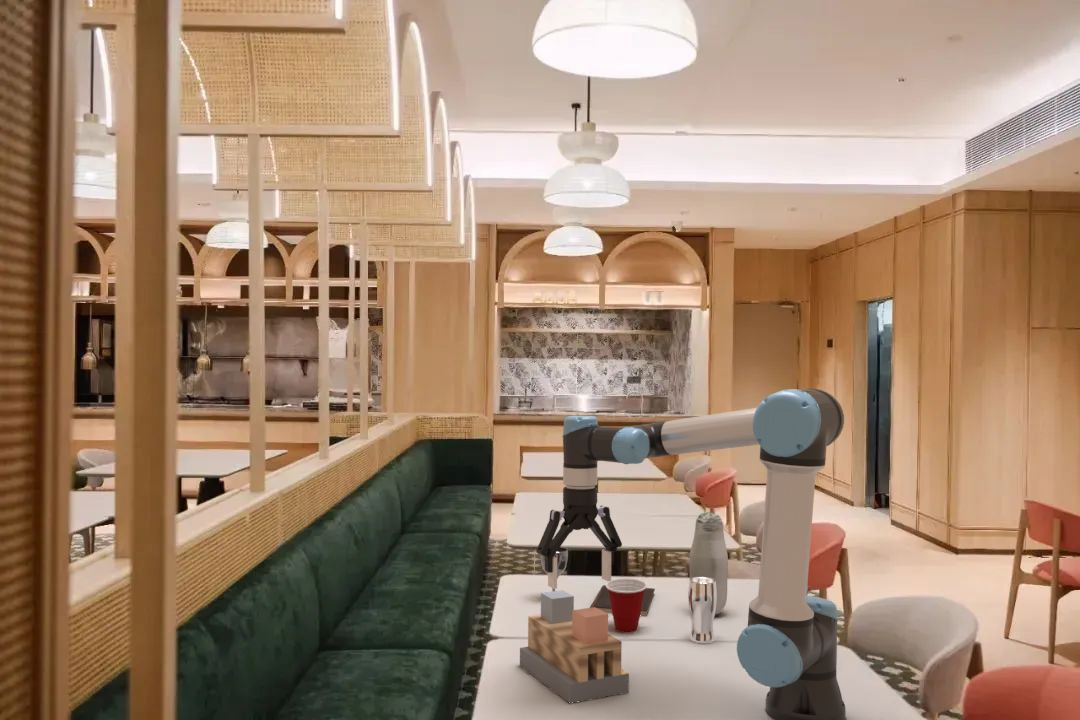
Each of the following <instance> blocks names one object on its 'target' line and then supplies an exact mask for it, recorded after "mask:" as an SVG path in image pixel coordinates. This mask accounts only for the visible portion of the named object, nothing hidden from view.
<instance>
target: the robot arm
mask: <svg viewBox="0 0 1080 720" xmlns="http://www.w3.org/2000/svg"><path fill="white" fill-rule="evenodd" d="M844 414H845V413H844V410H843V408H842V405H841V404H840V403H839V401H838V400H837V398H835V397H834V395H832V394H830V393H829V392H828V391H825V390H822V389H818V388H805V389H803V388H802V389H795V388H794V389H791V388H790V389H783V390H779V391H777V392H775V393H774V392H773V393H772V394H769V395H768V396H766V397H765V398H764V399H763V400H761V402H760V403H759V404H758V406H756V407H753V408H746V409H740V410H733V411H727V412H720V413H712V414H707V415H706V414H705V415H700V416H699V415H698V416H693V417H686V418H685V417H684V418H681V419H673V420H667V421H660V422H659V421H658V422H653V423H645V424H639V425H637V424H636V425H626V426H604V425H602V426H601V425H599V422H598V418H597V417H596V416H594V415H569V416H566V417H565V419H564V420H563V431H562V447H563V448H562V449H563V451H562V452H563V466H562V468H563V469H562V471H563V472H562V473H563V474H562V475H563V476H562V481H563V482H562V483H563V485H564V487H563V488H562V504H563V509H562V510H555V509H551V510H550V512H549V517H548V518H549V520H548V522H547V524H546V527H545V530H544V531H543V533H542V535H541V539H540V540H539V543H538V546H537V548H536V553H537V555H538V554H539V555H543V556H544V557H545V571H546V572H548V575H547V586H548V587H550V588H551V589H552V588H554V589H555V590H556V589H558V579H557V558H556V557H554V555H555V554H556V552H557V551H558V549H559V548H560V546H561V547H562V545H563V544H564V542H565V540H567V538H568V536H569V534H571V533H572V532H573V531H574V530H575V531H580V530H582V529H583V530H589V529H590V530H591V532H592V533H593V535H594V536H595V537H596V539H597V540H599V541H600V543H601V544H602V546H603V547H604V548H605V549H601V579H602V580H603V581H604V580H605V581H606V582H608V581H611V580H612V566H613V565H614V564H615V552H617V551H618V548H622V545H623V543H622V541H621V538H620V536H619V534H618V531H617V529H616V527H615V524H614V523H613V520H612V518H611V511H610V509H611V508H610V507H609V506H605V505H600V506H599V507H597V503H598V488H597V487H596V486H597V485H598V462H606V463H607V462H609V463H618V464H623V465H629V464H630V465H631V464H633V465H634V464H635V465H638V464H642V463H644V461H645V459H650V458H661V457H667V456H668V457H669V456H674V455H684V454H690V453H700V452H709V451H715V450H716V451H717V450H724V449H734V448H741V447H743V448H744V447H751V446H759V447H760V448H759V461H760V462H761V464H762V465H763V466H764V467H765V469H766V471H767V472H766V483H765V484H766V485H765V497H764V499H765V500H764V512H763V524H762V527H763V528H762V538H761V539H762V541H761V555H760V566H759V567H760V569H759V582H758V593H757V596H756V597H755V598H753V600H751V601H750V602H749V606H748V616H747V617H748V618H747V626H746V627H745V628H744V629H743V630H742V631H741V633H740V634H739V637H738V639H737V643H736V653H737V657H738V660H739V663H740V665H741V666H742V668H743V669H744V670H745V672H746V673H747V675H748V676H749V677H750V678H751V679H752V680H753V681H755V682H756V683H758V684H760V685H762V686H765V687H769V691H767V693H766V696H765V710H766V713H767V714H768V715H769V717H771V718H772V719H775V720H846V719H845V718H846V714H847V713H846V711H847V709H846V705H845V702H844V700H843V695H842V693H841V688H840V686H839V682H838V679H837V662H838V661H837V658H838V653H837V650H838V622H839V618H838V609H837V606H836V603H834V602H832V600H828V599H826V598H823V597H819V596H813V595H808V594H807V586H808V582H809V580H808V579H809V568H810V554H811V540H812V528H813V514H814V513H813V512H814V502H815V500H814V498H815V486H816V475H817V474H818V473H819V472H820V471H821V470H822V469H824V468H825V467H826V459H827V457H826V456H827V447H828V446H830V445H832V444H833V443H834V442H835V441H836V440H837V439H838V438H839V437H840V435H841V434H842V432H843V429H844V426H845V415H844ZM597 516H598V517H599V518H600V520H601V523H602V525H603V526H604V529H605V531H606V533H605V532H604V531H603V529H602V528H601V526H600V524H599V523H598V522H597V521H596V518H597ZM562 518H563V519H564V520H563V519H562ZM561 520H563V522H562V523H561V525H560V522H561ZM559 525H560V528H559V529H558V527H559ZM545 571H544V572H545ZM546 572H545V573H546Z"/></svg>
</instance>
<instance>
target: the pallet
mask: <svg viewBox="0 0 1080 720" xmlns="http://www.w3.org/2000/svg"><path fill="white" fill-rule="evenodd" d="M527 620H528V621H527V623H528V626H527V627H528V629H527V640H528V641H527V645H528V646H527V647H529V648H531V649H532V650H534V651H535V652H536V653H538V654H539V655H541V656H542V657H543V658H545V659H546V660H548V661H549V662H551V663H552V664H553V665H555V666H556V667H558V668H559V669H561V670H562V671H563V672H565V673H566V674H568V675H569V676H571V677H572V678H573V679H575V680H576V681H578V682H579V683H580V682H586V681H588V674H590V675H591V676H593V677H594V678H596V679H602V678H604V671H605V672H607V673H608V674H610V675H611V676H618V675H621V669H622V641H621V640H620V639H618V638H616V637H614V636H612V635H611V634H609V633H608V640H607V641H601V642H595V643H588V644H584V643H583V642H581V641H579V640H578V639H576V638H574V637H573V636H572V621H568V622H561V623H554V624H551V623H550V622H548V621H546V620H545V619H543V618H541V613H540V614H534V615H528V619H527Z"/></svg>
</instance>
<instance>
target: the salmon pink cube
mask: <svg viewBox="0 0 1080 720" xmlns="http://www.w3.org/2000/svg"><path fill="white" fill-rule="evenodd" d="M608 634H609V614H607V613H605V612H603V611H601V610H599V609H597V608H595V607H593V608H590V607H588V608H581V609H574V610H573V614H572V636H573V637H574V638H576V639H578V640H579V641H581V642H583V643H584V644H588V643H595V642H601V641H607V640H608Z"/></svg>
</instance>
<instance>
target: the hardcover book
mask: <svg viewBox="0 0 1080 720" xmlns="http://www.w3.org/2000/svg"><path fill="white" fill-rule="evenodd" d="M655 590H656V589H655V588H651V587H650V588H649V587H647V588H646V589H645V593H644V597H643V602H642V608H641V614H640V615H641V616H640V617H647V614H648V612H649V609H648V608H649V607H650V605H651V603H652V599H653V597H654V594H655ZM593 607H595V608H597V609H599V610H601V611H603V612H605V613H612V609H611V602H610V596H609V592H608V589H607V588H606V585H605V584H603V585H602V586H601V587H600V589H599V591H598V593H597V594H596V596H595V598H594V599H593V601H592V603H591V605H589V608H593Z"/></svg>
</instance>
